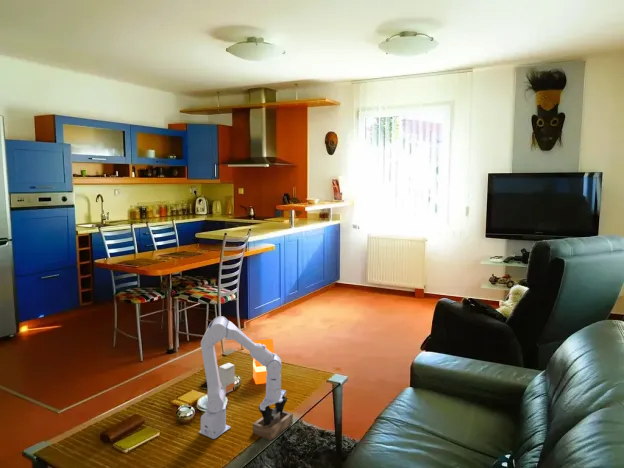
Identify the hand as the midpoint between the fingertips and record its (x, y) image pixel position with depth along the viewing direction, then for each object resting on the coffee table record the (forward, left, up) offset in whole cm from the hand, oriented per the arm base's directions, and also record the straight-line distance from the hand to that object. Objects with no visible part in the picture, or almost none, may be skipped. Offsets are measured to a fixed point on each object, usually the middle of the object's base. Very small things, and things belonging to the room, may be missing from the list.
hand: (273, 419), depth 183 cm
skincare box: (+13, +36, -4) cm, 38 cm away
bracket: (0, 0, -3) cm, 3 cm away
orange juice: (+31, +28, -4) cm, 42 cm away
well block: (0, 0, -4) cm, 4 cm away
